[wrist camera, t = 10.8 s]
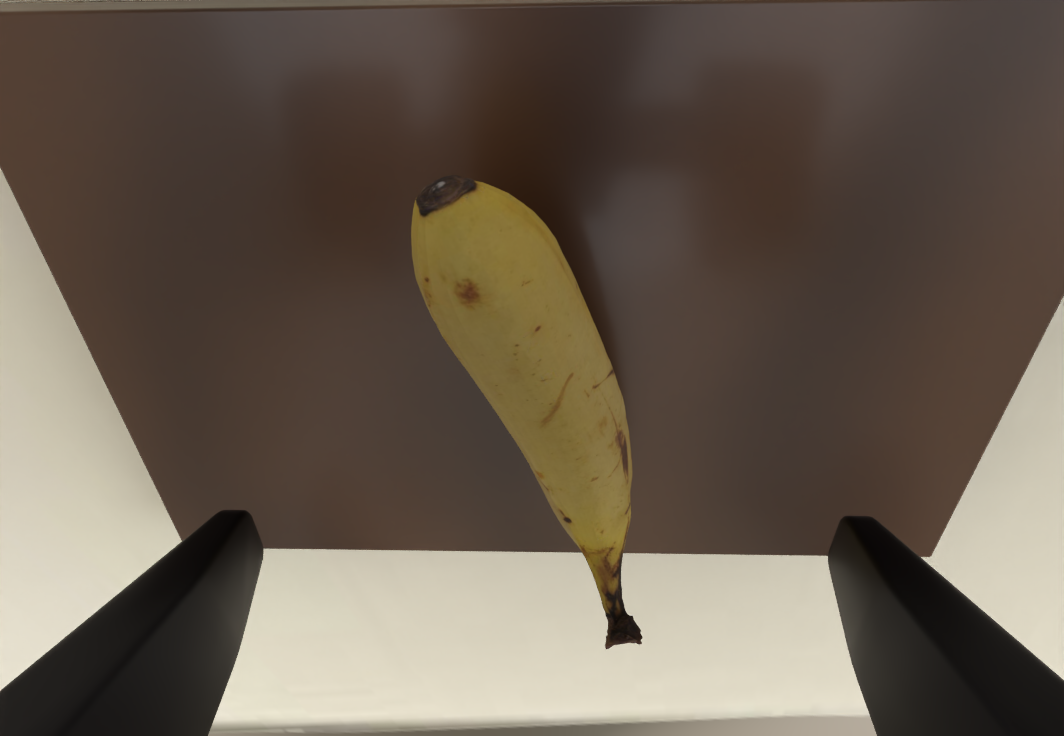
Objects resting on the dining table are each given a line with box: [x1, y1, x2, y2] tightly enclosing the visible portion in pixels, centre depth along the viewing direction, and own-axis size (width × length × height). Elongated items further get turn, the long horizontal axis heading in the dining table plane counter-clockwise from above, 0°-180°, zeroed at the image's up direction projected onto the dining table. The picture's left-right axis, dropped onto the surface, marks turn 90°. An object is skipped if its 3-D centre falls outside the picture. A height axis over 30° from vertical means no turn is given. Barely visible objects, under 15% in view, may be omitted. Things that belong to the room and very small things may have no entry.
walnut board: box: [0, 0, 1064, 557], centre depth 14 cm, size 20×13×1 cm, turn 91°
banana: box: [411, 175, 642, 649], centre depth 12 cm, size 10×2×4 cm, turn 17°
